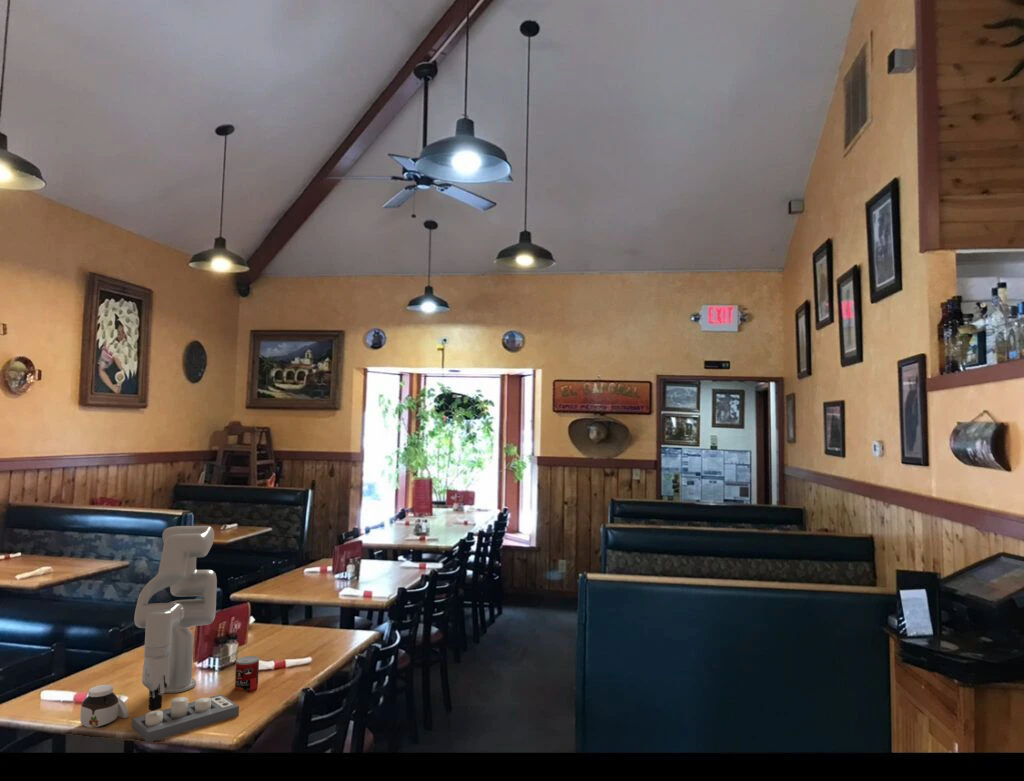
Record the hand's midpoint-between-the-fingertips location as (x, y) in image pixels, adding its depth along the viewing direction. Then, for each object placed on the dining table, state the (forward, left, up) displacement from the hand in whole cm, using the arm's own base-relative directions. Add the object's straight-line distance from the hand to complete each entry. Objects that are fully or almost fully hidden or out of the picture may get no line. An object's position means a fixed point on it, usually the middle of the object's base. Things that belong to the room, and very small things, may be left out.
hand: (155, 708), depth 209 cm
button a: (+1, +15, -6) cm, 16 cm away
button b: (+1, +7, -4) cm, 8 cm away
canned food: (-14, +37, -8) cm, 40 cm away
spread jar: (-18, -8, -8) cm, 22 cm away
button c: (+1, 0, -6) cm, 6 cm away
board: (+1, +10, -8) cm, 12 cm away
